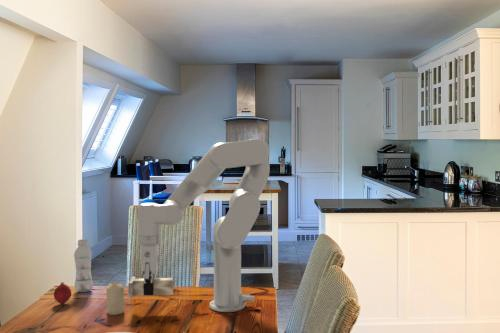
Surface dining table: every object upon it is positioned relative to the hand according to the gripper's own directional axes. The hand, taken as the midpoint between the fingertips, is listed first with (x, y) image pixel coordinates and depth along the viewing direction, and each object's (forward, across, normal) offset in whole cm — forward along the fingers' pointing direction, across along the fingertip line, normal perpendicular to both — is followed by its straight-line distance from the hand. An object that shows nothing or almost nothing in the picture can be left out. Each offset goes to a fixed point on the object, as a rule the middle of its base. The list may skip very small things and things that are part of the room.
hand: (149, 292), depth 165 cm
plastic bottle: (+7, +24, +27) cm, 37 cm away
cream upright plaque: (+1, 0, 0) cm, 1 cm away
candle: (+7, 0, +11) cm, 13 cm away
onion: (+7, +10, +31) cm, 33 cm away
